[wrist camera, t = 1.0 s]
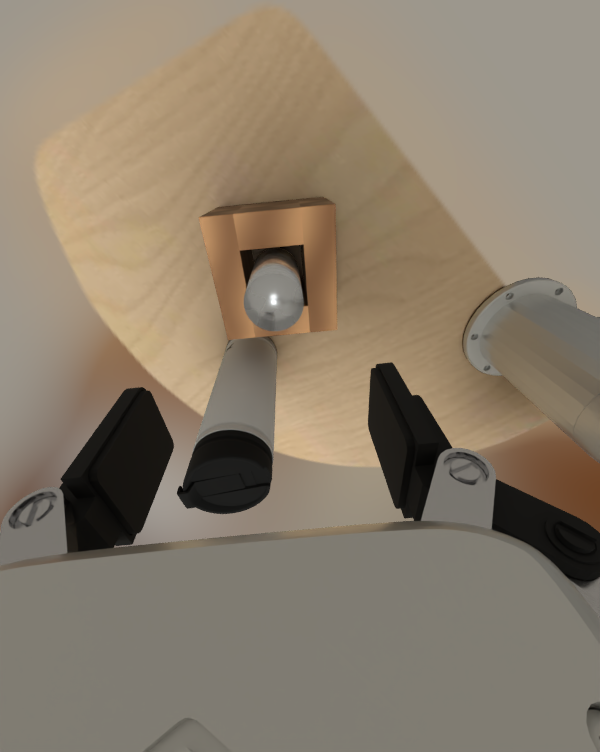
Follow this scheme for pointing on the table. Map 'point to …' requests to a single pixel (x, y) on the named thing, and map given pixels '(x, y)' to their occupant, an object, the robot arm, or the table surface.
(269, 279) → the peg
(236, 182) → the table surface
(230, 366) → the travel mug
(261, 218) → the hole block
